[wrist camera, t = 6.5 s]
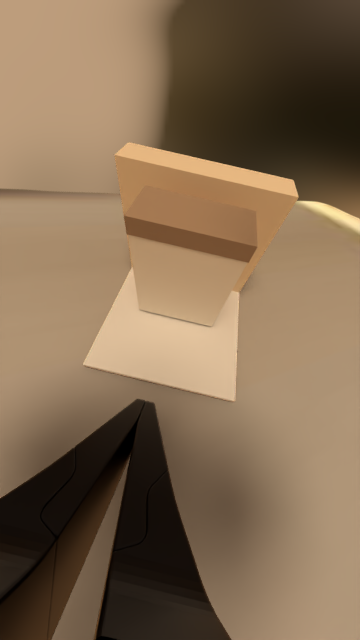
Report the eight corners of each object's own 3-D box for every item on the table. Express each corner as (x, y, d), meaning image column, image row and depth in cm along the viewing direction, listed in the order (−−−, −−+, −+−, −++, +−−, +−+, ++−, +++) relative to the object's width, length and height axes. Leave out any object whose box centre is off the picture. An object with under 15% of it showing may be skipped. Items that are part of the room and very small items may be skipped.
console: (232, 402, 16) (350, 366, 6) (85, 366, 16) (-25, 277, 6) (238, 278, 25) (293, 179, 15) (140, 255, 25) (129, 141, 15)
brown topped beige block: (212, 327, 19) (257, 246, 10) (138, 309, 19) (123, 215, 10) (215, 297, 21) (256, 210, 13) (149, 282, 21) (144, 185, 13)
